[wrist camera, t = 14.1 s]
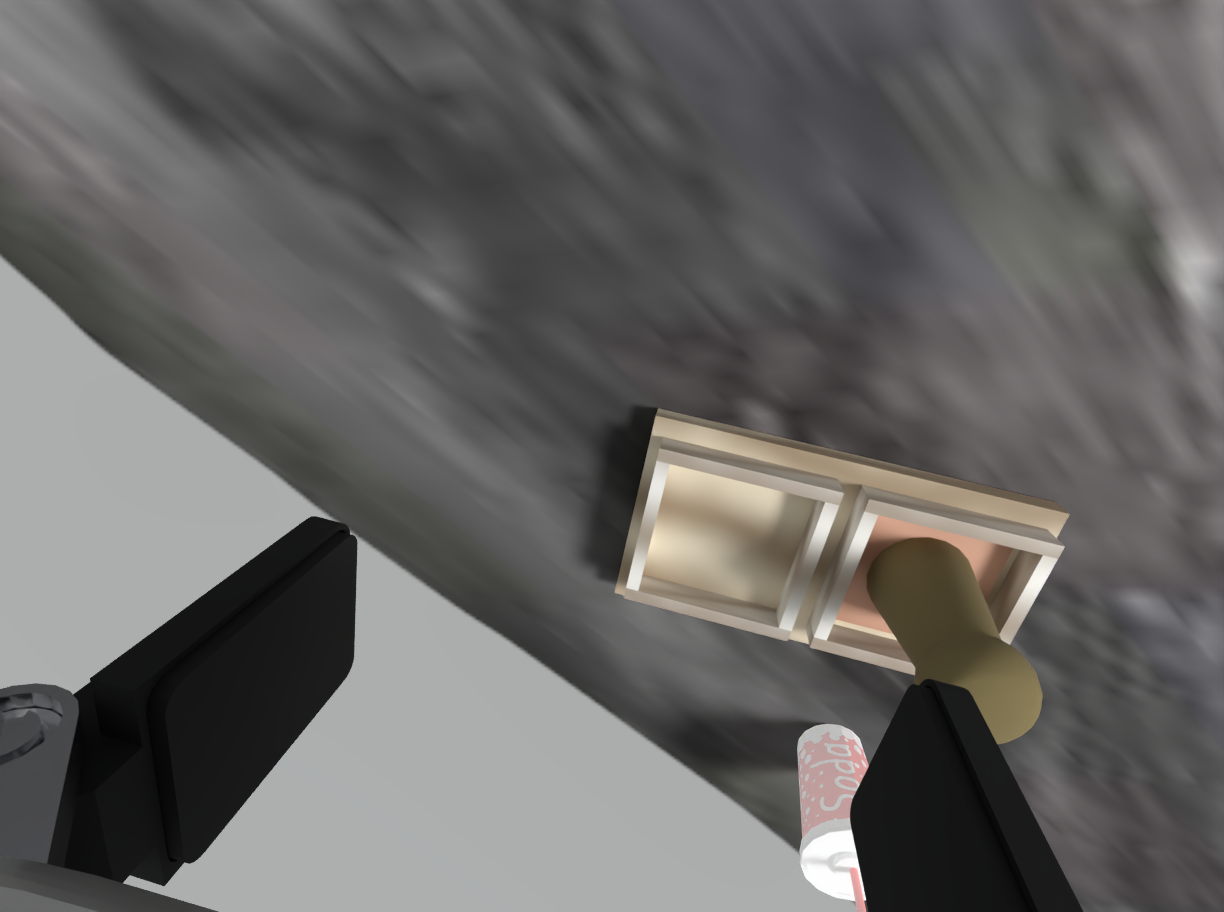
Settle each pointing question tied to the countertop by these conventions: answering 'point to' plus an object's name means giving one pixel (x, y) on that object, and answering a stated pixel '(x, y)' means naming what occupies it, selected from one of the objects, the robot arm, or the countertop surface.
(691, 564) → the spice holder
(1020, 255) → the countertop surface
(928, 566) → the cork
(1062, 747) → the countertop surface
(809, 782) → the beverage cup
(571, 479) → the countertop surface
